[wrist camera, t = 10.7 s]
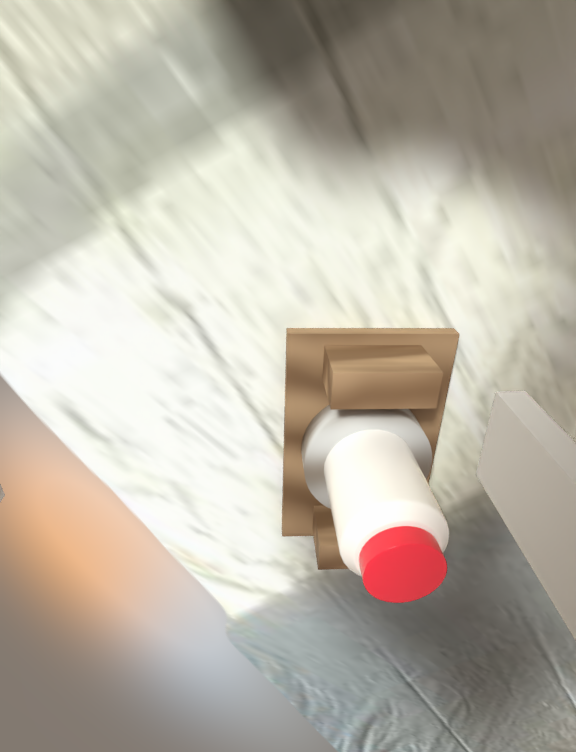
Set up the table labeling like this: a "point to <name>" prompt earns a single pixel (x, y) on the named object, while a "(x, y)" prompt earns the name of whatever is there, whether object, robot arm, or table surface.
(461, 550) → the table surface
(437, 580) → the pill bottle
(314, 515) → the cardboard packaging tray
